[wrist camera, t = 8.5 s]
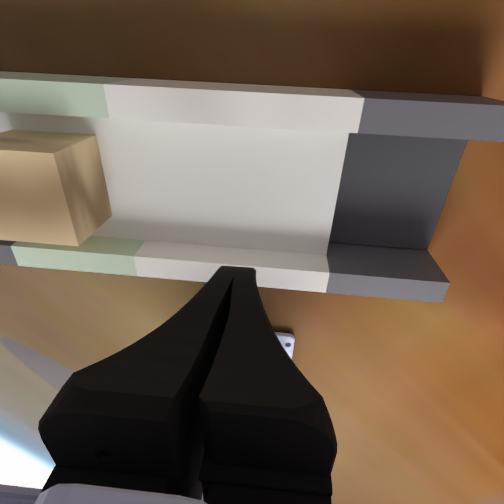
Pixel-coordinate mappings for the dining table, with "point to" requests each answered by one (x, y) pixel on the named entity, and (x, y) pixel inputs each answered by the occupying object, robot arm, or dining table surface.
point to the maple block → (51, 187)
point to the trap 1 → (393, 189)
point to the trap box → (234, 177)
